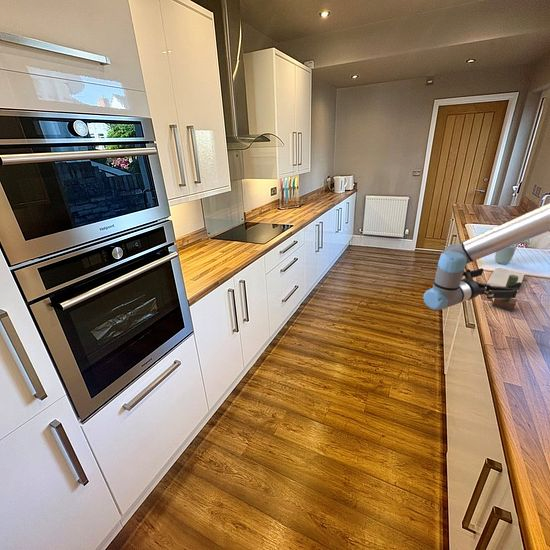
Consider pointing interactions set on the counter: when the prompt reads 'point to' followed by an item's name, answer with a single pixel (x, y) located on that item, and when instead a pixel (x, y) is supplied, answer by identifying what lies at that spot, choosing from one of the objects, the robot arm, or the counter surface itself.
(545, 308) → the counter surface
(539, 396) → the counter surface
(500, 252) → the cup
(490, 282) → the tile
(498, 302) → the brush
